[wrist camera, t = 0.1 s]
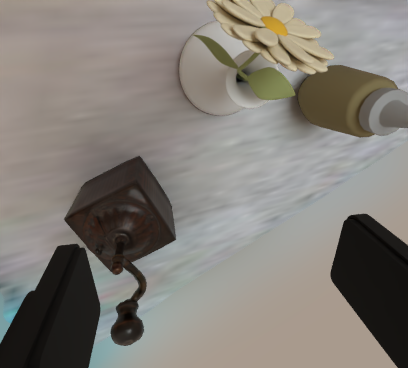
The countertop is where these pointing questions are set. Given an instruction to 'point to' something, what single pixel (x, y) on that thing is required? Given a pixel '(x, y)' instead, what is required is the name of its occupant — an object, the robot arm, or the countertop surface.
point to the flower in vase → (247, 56)
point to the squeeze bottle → (353, 102)
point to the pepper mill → (123, 230)
